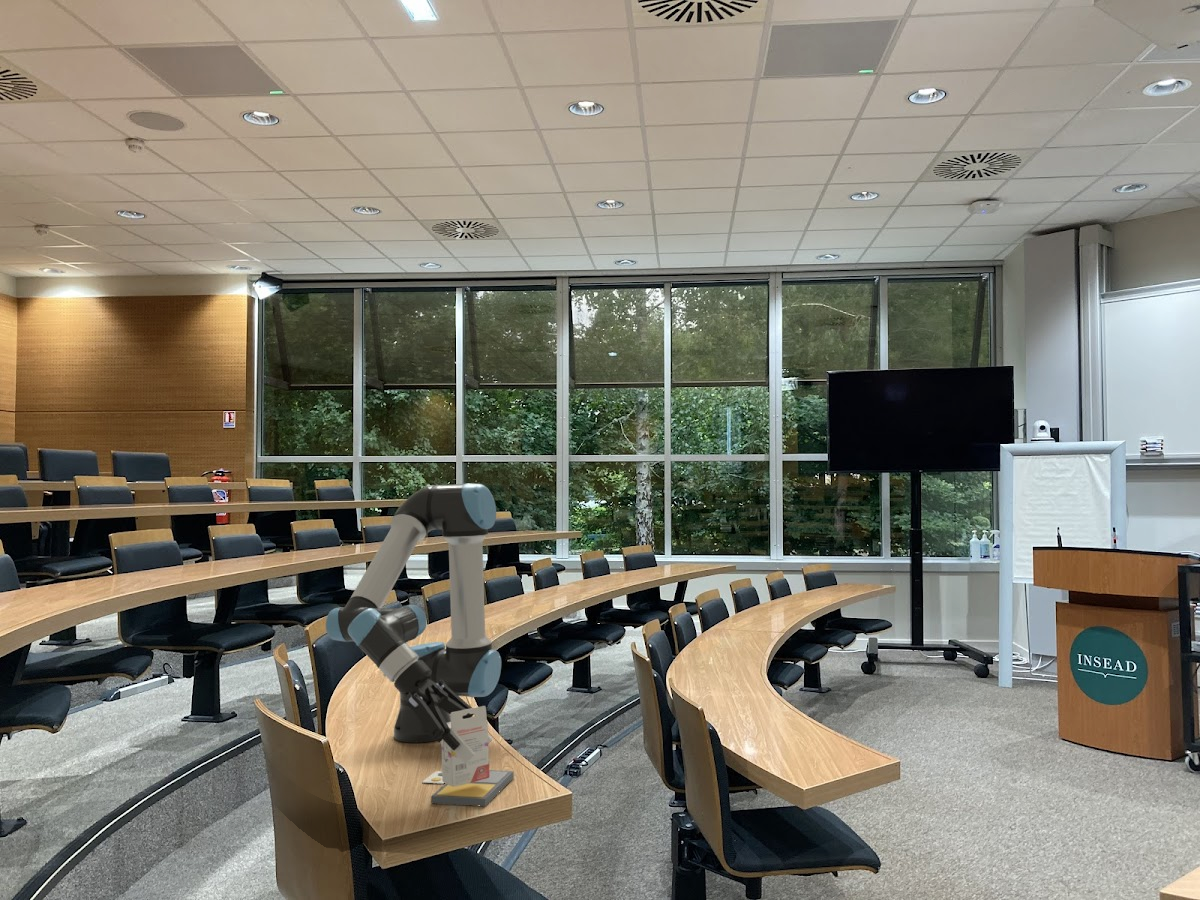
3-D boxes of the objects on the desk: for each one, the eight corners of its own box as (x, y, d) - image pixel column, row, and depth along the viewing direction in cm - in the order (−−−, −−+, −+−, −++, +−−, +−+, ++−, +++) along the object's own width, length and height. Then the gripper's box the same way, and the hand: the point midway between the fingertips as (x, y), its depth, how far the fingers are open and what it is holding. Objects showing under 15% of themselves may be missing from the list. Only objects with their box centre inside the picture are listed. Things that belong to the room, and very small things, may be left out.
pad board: (463, 775, 183) (463, 768, 183) (513, 778, 181) (513, 770, 181) (431, 803, 167) (431, 795, 167) (485, 806, 164) (485, 798, 165)
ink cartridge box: (478, 772, 175) (477, 701, 175) (490, 778, 171) (488, 705, 171) (441, 781, 170) (439, 708, 170) (451, 788, 166) (450, 712, 166)
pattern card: (435, 772, 186) (435, 770, 186) (456, 773, 185) (456, 771, 185) (422, 783, 179) (422, 781, 179) (443, 784, 178) (443, 782, 178)
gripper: (418, 672, 185) (487, 747, 181) (368, 696, 164) (445, 782, 159) (440, 648, 184) (509, 723, 180) (393, 669, 163) (470, 755, 159)
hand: (479, 751), depth 170 cm, fingers closed on ink cartridge box, 9 cm apart
